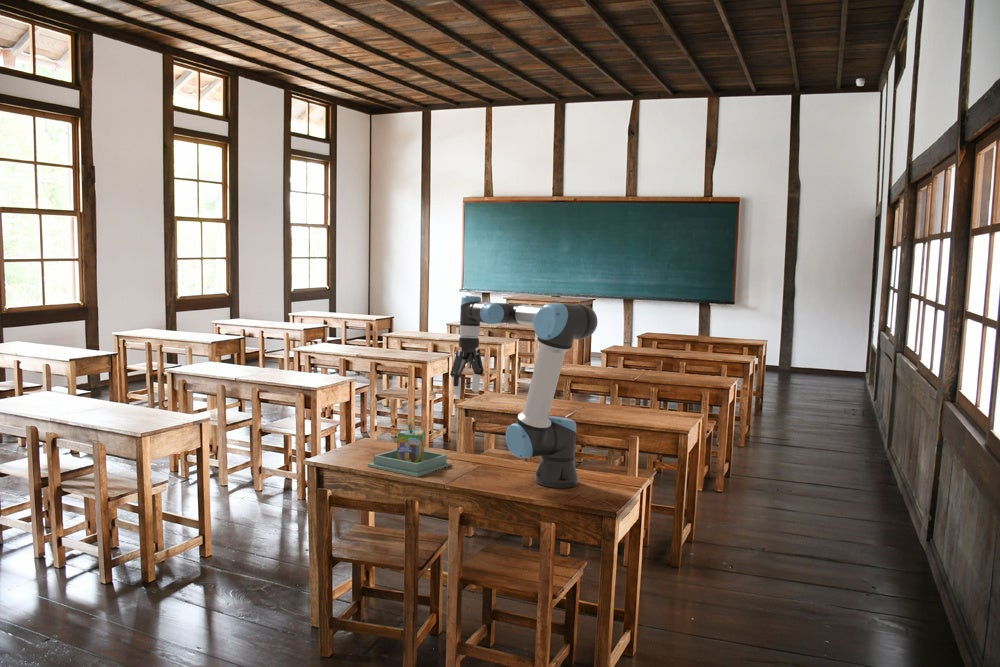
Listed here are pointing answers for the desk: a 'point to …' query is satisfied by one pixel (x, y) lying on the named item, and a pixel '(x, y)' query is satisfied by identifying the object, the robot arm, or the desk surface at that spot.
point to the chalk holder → (410, 463)
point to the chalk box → (410, 445)
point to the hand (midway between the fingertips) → (466, 393)
